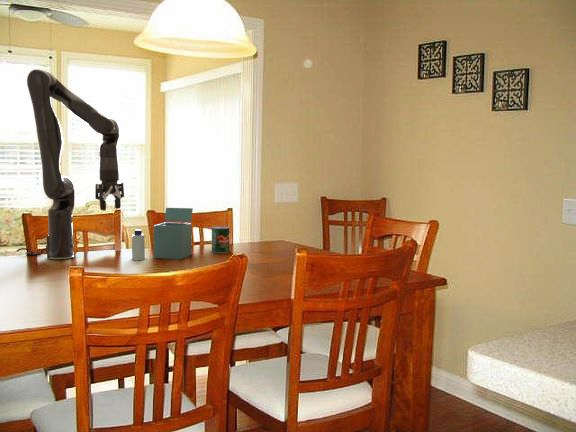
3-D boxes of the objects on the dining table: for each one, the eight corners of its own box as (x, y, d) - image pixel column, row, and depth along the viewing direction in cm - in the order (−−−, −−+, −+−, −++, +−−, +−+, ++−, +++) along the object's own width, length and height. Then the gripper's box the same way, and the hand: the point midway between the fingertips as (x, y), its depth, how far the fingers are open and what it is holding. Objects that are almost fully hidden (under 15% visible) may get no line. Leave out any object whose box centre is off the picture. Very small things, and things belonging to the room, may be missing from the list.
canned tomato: (223, 253, 261) (223, 228, 260) (208, 252, 264) (207, 227, 263) (232, 251, 268) (232, 226, 267) (217, 250, 271) (217, 225, 270)
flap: (166, 207, 260) (166, 207, 260) (164, 220, 258) (164, 221, 259) (192, 208, 258) (192, 208, 258) (191, 221, 256) (191, 221, 257)
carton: (154, 258, 248) (153, 225, 247) (164, 253, 260) (164, 222, 259) (181, 259, 246) (181, 226, 245) (191, 254, 258) (191, 223, 257)
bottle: (130, 260, 243) (129, 230, 242) (135, 257, 248) (134, 229, 247) (141, 260, 242) (141, 230, 241) (146, 258, 247) (146, 229, 246)
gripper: (113, 168, 249) (114, 207, 250) (89, 169, 236) (90, 210, 237) (128, 168, 245) (129, 208, 247) (104, 169, 233) (105, 211, 234)
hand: (110, 209), depth 242 cm, fingers open, 8 cm apart
